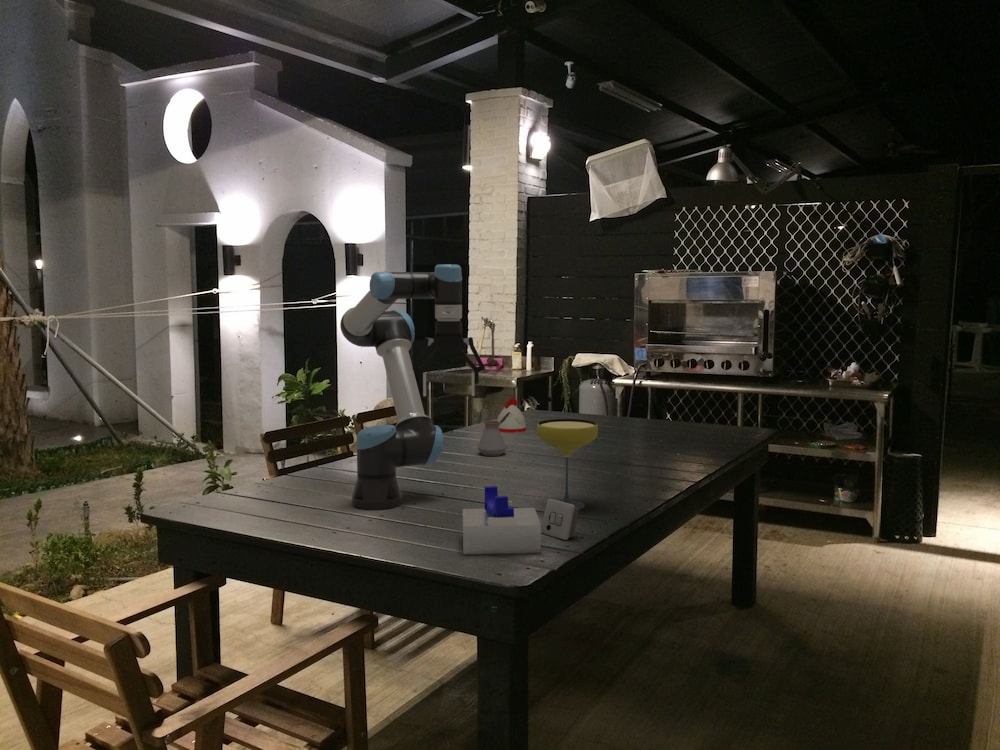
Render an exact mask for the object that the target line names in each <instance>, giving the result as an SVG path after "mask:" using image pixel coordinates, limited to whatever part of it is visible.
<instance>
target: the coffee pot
mask: <svg viewBox="0 0 1000 750" xmlns="http://www.w3.org/2000/svg"><path fill="white" fill-rule="evenodd" d="M509 414H510V412H508V413H507V414H506V416H504V417H503V418H502V420H501V421H500V422H498V421H497V420H488V421H484V422H483V424H484V426H485V428H484V430H483V433H482V434H481V437H480V440H479V443H478V445H477V449H478V451H479V453H481V454H482V456H486V457H499V456H502V454H503V453H505V452H506V449H507V444H506V442H505V440H504V437H503V435H502V432H500V430H499V428H498V427H499V426H500V424H502V423H503V422H504V421H505V420H506V418H507V417H508V416H509ZM511 414H512V413H511Z"/></svg>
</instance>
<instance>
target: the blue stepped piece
mask: <svg viewBox="0 0 1000 750" xmlns="http://www.w3.org/2000/svg"><path fill="white" fill-rule="evenodd" d="M508 501H509V497H508V496H507V495H498V487H497V486H496V485H491V486H490V485H488V486H487V485H486V486H484V509H485V510H486V511H487V512H488V513H489V514H490V516H491V517H514V508H515V507H513V505H512V506H508Z"/></svg>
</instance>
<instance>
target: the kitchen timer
mask: <svg viewBox="0 0 1000 750" xmlns="http://www.w3.org/2000/svg"><path fill="white" fill-rule="evenodd" d="M518 403H519V400H517V398H516V397H514V398H513V397H511V398H508V400H506V403H504V408H503V409H502V410H501V411H500V413H499V414H498V415H497V420H496V421H498V422H500V421H501V420H502V418H503V417H504V416H506V414H507V413H508V412H510V414H509V416H508V417H507V418H506V420H505V421H504V422H503V423H502V424H500V426H499V427H498V428H499V430H500V432H501V433H508V434H510V433H515V434H516V433H523V432H526V431H527V424H526V419H525V416H524V415H523V413H522V411H521V410H520V409H519V408H518V406H517V405H518ZM511 413H512V414H511Z"/></svg>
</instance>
